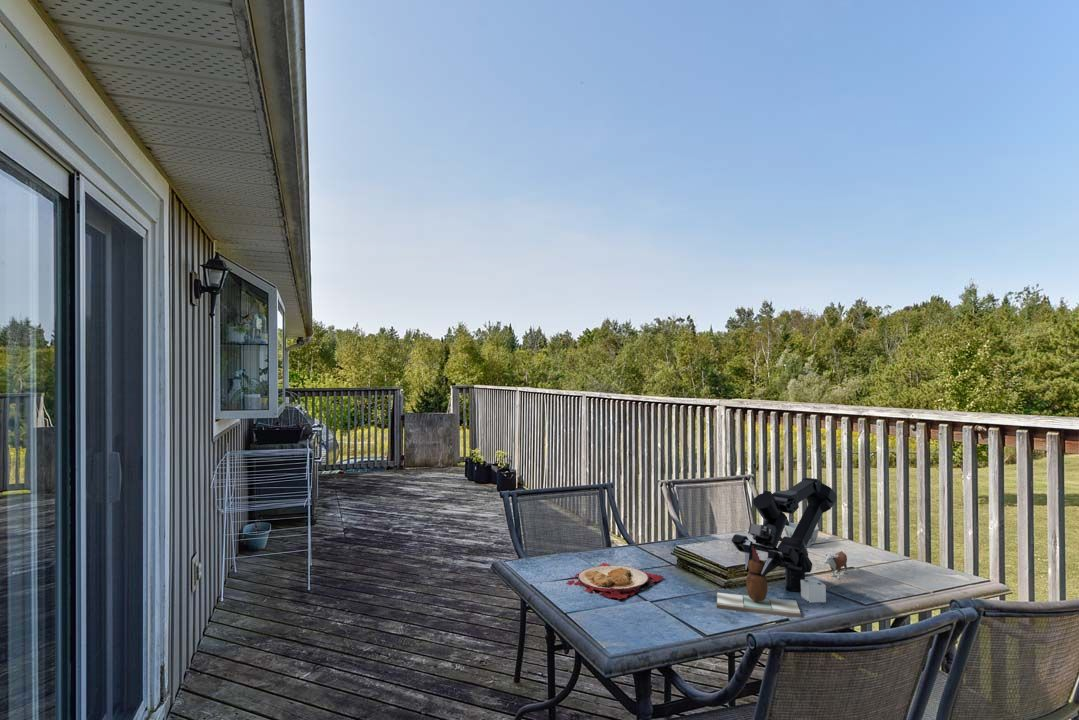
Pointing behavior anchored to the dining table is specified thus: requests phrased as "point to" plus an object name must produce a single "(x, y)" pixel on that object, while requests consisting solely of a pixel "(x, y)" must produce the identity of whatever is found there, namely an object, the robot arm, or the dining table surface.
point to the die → (813, 590)
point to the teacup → (791, 529)
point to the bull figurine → (837, 563)
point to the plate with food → (614, 580)
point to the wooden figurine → (756, 578)
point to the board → (758, 605)
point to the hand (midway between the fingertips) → (754, 573)
